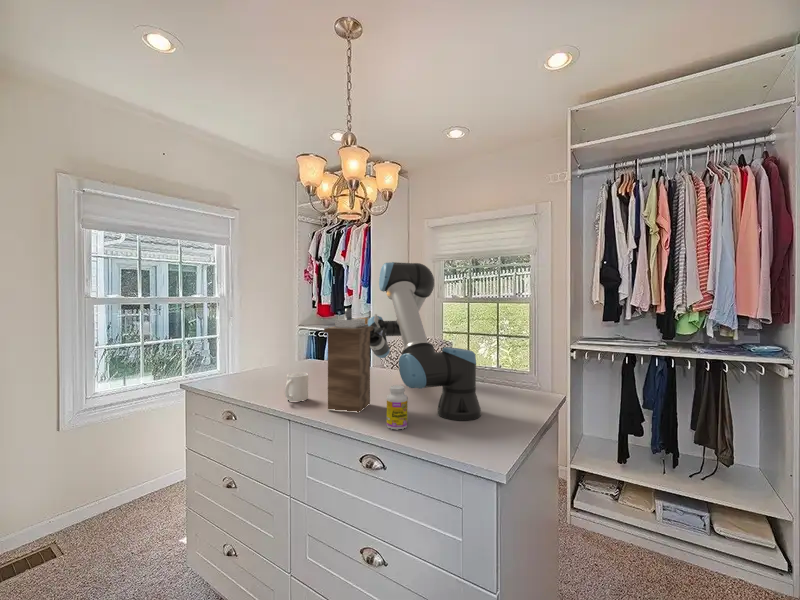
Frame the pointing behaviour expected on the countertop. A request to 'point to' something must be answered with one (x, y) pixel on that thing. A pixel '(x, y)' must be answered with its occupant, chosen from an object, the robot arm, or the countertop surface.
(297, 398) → the mug
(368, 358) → the post
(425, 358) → the robot arm
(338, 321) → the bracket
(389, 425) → the supplement bottle
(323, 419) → the countertop surface
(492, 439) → the countertop surface
